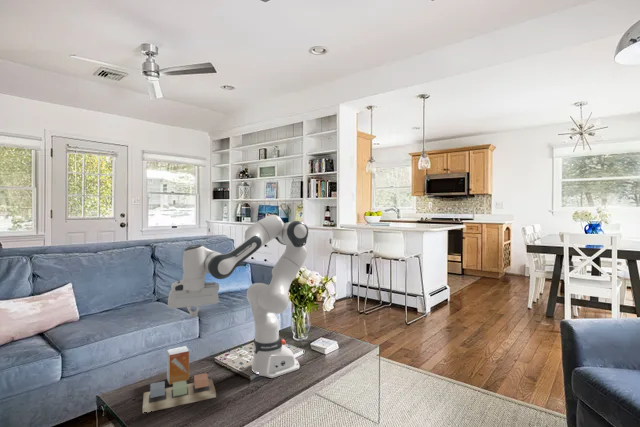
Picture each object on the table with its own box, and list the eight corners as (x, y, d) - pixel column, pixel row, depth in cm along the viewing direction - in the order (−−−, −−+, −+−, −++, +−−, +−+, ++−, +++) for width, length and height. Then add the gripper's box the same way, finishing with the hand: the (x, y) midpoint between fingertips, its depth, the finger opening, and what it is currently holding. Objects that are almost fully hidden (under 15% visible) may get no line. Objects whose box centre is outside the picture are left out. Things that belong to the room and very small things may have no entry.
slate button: (164, 388, 137) (164, 381, 137) (164, 395, 132) (164, 387, 132) (150, 391, 135) (150, 383, 135) (150, 398, 130) (150, 390, 130)
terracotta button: (206, 380, 144) (206, 372, 144) (208, 385, 139) (208, 378, 139) (194, 382, 142) (194, 375, 141) (195, 388, 137) (195, 381, 137)
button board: (211, 383, 148) (212, 378, 148) (215, 397, 138) (215, 391, 138) (143, 397, 137) (143, 392, 136) (142, 413, 127) (142, 407, 127)
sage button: (186, 387, 140) (186, 380, 140) (187, 393, 136) (187, 386, 136) (172, 390, 138) (172, 382, 138) (173, 396, 134) (173, 389, 134)
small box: (169, 385, 146) (169, 355, 145) (166, 378, 151) (166, 349, 151) (189, 380, 150) (189, 350, 150) (186, 373, 156) (186, 345, 155)
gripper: (218, 280, 153) (217, 310, 154) (167, 284, 145) (167, 316, 145) (220, 283, 148) (220, 315, 148) (167, 287, 139) (168, 321, 139)
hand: (193, 316), depth 147 cm, fingers closed
